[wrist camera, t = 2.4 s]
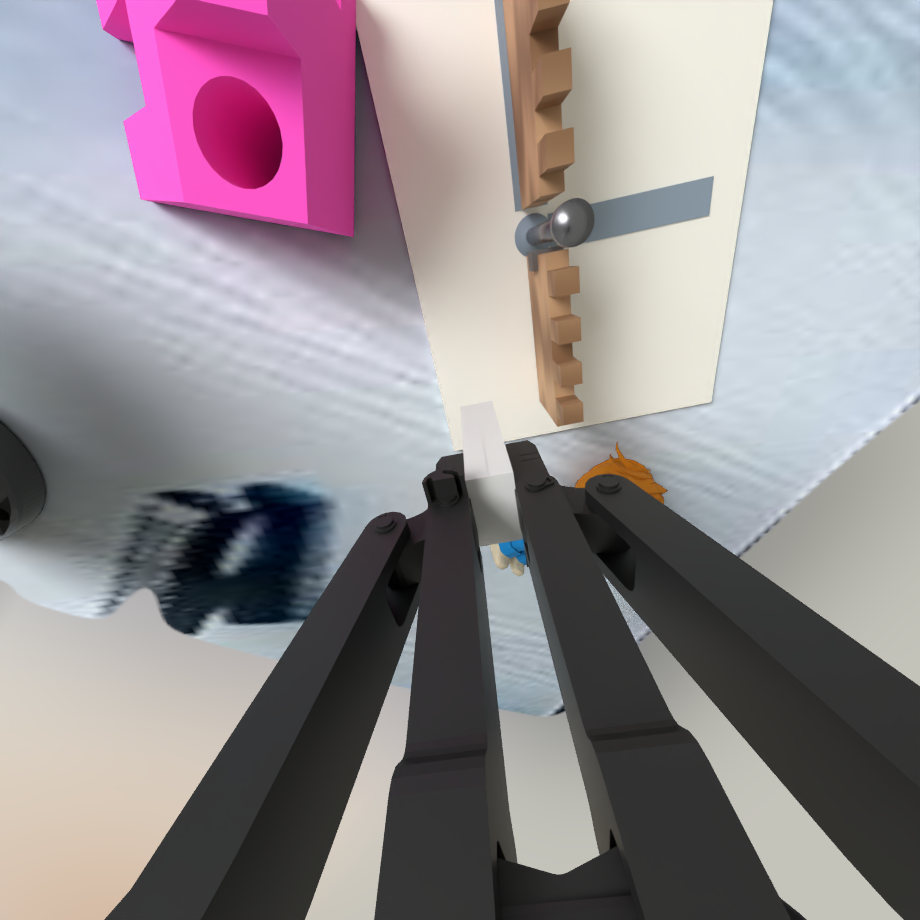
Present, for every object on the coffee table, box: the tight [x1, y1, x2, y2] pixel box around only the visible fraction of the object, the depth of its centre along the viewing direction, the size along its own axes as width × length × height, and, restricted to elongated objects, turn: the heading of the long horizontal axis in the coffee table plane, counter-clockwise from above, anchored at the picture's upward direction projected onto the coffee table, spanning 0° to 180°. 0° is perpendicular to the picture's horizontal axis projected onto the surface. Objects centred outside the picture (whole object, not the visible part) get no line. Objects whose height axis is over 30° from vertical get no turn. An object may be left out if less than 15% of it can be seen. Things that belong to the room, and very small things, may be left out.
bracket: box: [96, 0, 356, 237], centre depth 15 cm, size 12×10×10 cm
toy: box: [490, 442, 668, 576], centre depth 31 cm, size 12×6×15 cm
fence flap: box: [526, 246, 584, 427], centre depth 22 cm, size 10×2×7 cm, turn 11°
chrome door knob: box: [526, 198, 595, 248], centre depth 19 cm, size 2×2×8 cm
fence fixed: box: [503, 0, 575, 210], centre depth 17 cm, size 10×1×7 cm, turn 11°
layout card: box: [356, 0, 773, 451], centre depth 22 cm, size 21×29×1 cm
